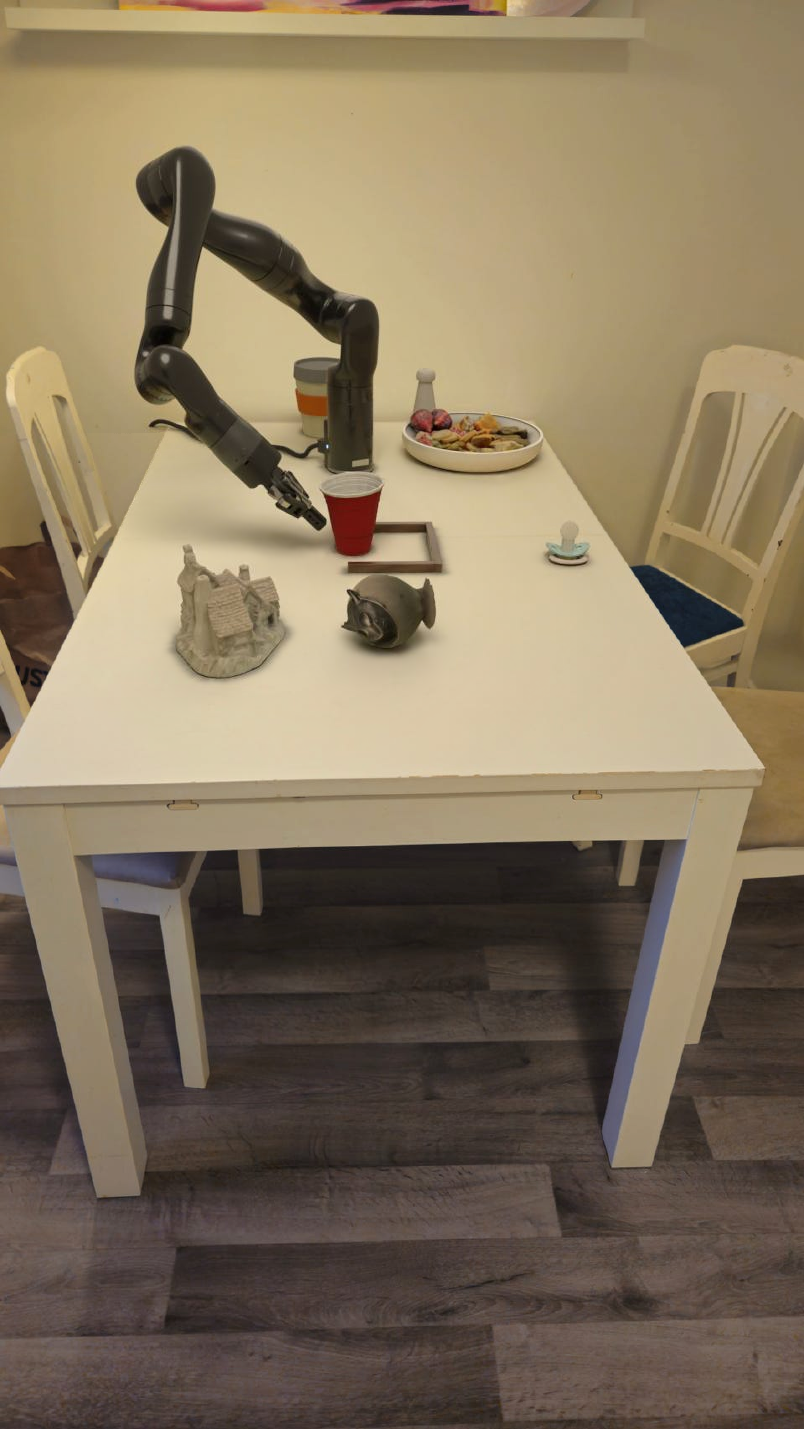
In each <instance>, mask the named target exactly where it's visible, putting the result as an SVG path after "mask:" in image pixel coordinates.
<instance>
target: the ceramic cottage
mask: <svg viewBox="0 0 804 1429" xmlns="http://www.w3.org/2000/svg"><path fill="white" fill-rule="evenodd" d="M182 550H183V553H184V555H183V564H184V565H183V566H184V567H183V569H182V570H181V571H180V573H179V574H178V576H177V580H176V583H177V585H178V586H179V587H180V593H181V599H182V602H181V604H180V608H181V610H180V623H181V627H180V629H179V631H178V634H177V638H176V645H175V646H176V648H175V650H176V651H177V652H178V653H179V655H180V656H181V657H182V658H183V659H184V660H185V662H186V663H187V664H188V665H189V666H190V668H191V669H192V670H194V671H195V673H196V674H199V675H202V676H205V677H208V678H209V677H210V678H217V679H220V678H222V679H223V678H231V677H235V676H238V675H242V674H246V673H247V672H250V671H251V670H254V669H256V668H257V667H260V666H262V664H263V663H264V661H265V660H266V659H267V658H268V656H270V655H271V653H272V651H274V649H275V648H276V647H277V646H278V645H279V644H280V642H281V641H282V640H283V639H284V638H285V635H286V630H285V627H284V625H283V623H282V622H281V621H279V617H280V608H281V605H280V602H279V601H280V596H279V594H278V591H277V587H276V585H275V582H274V580H273V579H272V577H271V576H266V577H261V578H258V579H251V575H250V567H249V564H246V563H242V564H240V565H239V566H238V567H239V569H238V576H237V575H236V574H235V573H233V572H232V571H231V570H230V569H228V568H226V567H225V568H224V570H223V571H222V573H217V574H216V573H215V572H213V571H211V570H210V569H208V568H207V567H206V566H203V565H201V564H200V563H199V562H198V561H197V558H196V554H195V552H194V551H193V550H194V549H193V546H192V545H191V544H190V543H185V544H184V545H182Z"/></svg>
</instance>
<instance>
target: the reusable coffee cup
mask: <svg viewBox="0 0 804 1429" xmlns="http://www.w3.org/2000/svg"><path fill="white" fill-rule="evenodd" d="M339 361H340V358H337V357H330V356H329V357H327V356H313V357H305V358H300V359H297V360H295V361H294V362H293V372H292V373H293V374H292V376H293V379H294V380H295V386H296V388H295V389H294V392H295V393H294V394H295V398H296V404H297V410H298V412H299V414H300V418H301V419H300V420H301V425H302V430H303V434H304V435H305V436H308V437H312V438H319V439H321V438H324V420H325V419H327V385H326V371H327V368H328V367H329V366H330V365H332V364H335V363H338V362H339Z"/></svg>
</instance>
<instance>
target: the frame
mask: <svg viewBox="0 0 804 1429" xmlns="http://www.w3.org/2000/svg"><path fill="white" fill-rule="evenodd" d="M434 529H435V528H434V525H433V521H376V524H375V530H374V533H425V536H426V541H427V545H428V549H429V554H430V558H431V560H412V561H411V560H399V561H398V560H397V561H396V560H393V561H391V560H389V561H388V560H387V561H386V560H384V561H382V560H381V561H379V560H378V561H377V560H376V561H375V560H374V561H373V560H372V561H368V560H367V561H347V573H348V574H384V573H387V574H388V573H389V574H391V573H392V574H393V573H394V574H395V573H396V574H397V573H401V574H402V573H442V572H443V561H442V558H441V553H440V550H439V546H438V542H437V538H436V533H435V530H434Z"/></svg>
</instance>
